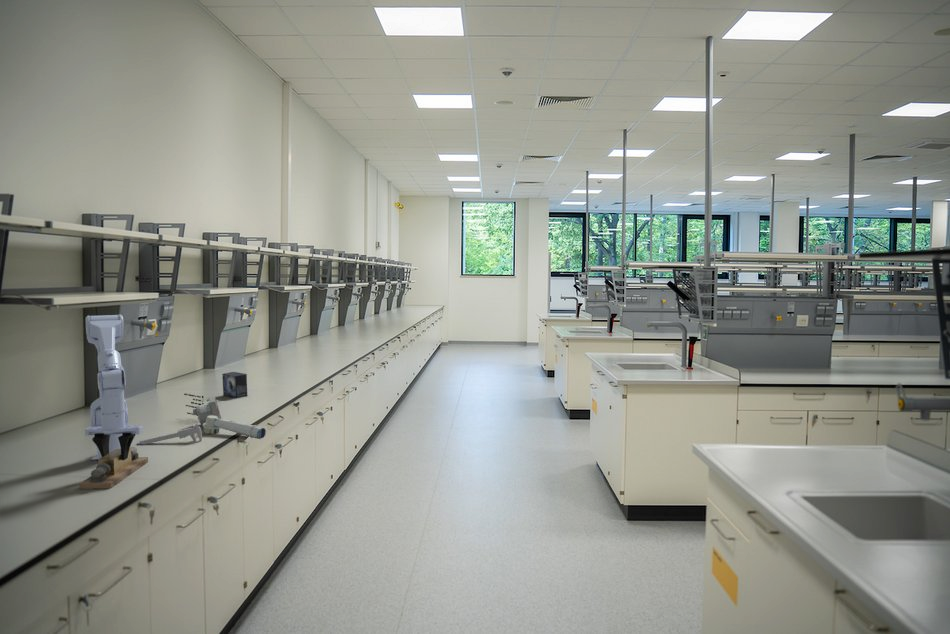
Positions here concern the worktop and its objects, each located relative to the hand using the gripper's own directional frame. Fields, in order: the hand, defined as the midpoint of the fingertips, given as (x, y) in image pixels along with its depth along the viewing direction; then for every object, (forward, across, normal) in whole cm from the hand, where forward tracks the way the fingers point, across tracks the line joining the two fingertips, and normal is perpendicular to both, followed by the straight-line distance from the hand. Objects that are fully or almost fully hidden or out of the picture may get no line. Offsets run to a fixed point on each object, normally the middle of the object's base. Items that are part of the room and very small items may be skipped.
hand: (115, 459), depth 171 cm
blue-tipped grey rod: (+5, +20, +40) cm, 45 cm away
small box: (+5, +1, +108) cm, 108 cm away
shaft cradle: (+4, 0, 0) cm, 4 cm away
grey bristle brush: (+5, +3, +60) cm, 60 cm away
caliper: (+5, +2, +32) cm, 32 cm away
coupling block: (+3, 0, 0) cm, 3 cm away
